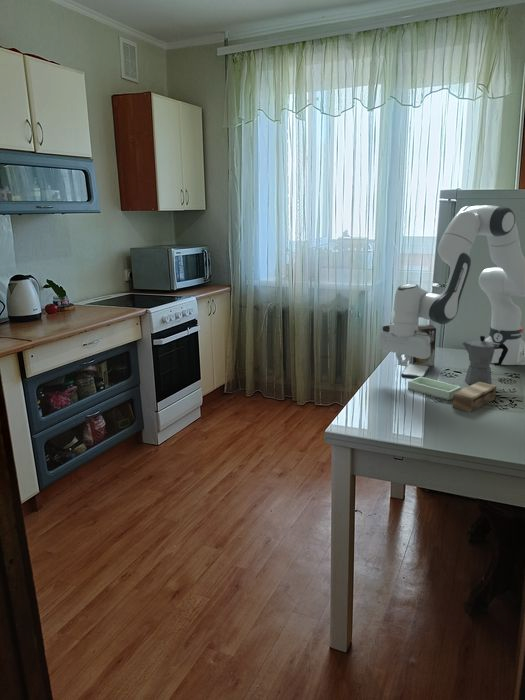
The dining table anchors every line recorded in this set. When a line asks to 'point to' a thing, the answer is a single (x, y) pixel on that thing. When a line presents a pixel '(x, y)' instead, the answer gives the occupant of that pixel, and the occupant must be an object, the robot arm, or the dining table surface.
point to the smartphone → (415, 371)
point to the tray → (433, 387)
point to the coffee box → (432, 333)
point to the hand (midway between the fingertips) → (402, 365)
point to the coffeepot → (482, 360)
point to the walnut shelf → (474, 396)
